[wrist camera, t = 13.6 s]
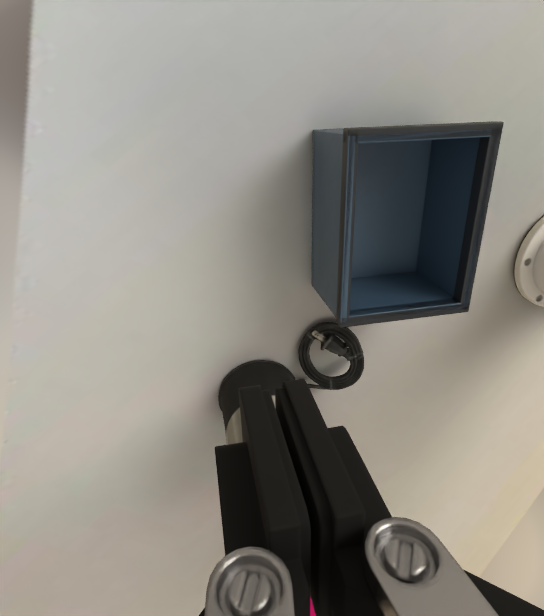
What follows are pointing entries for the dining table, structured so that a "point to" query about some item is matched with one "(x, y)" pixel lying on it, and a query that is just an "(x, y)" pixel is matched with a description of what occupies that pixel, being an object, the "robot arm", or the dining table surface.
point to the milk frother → (275, 373)
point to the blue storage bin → (400, 218)
